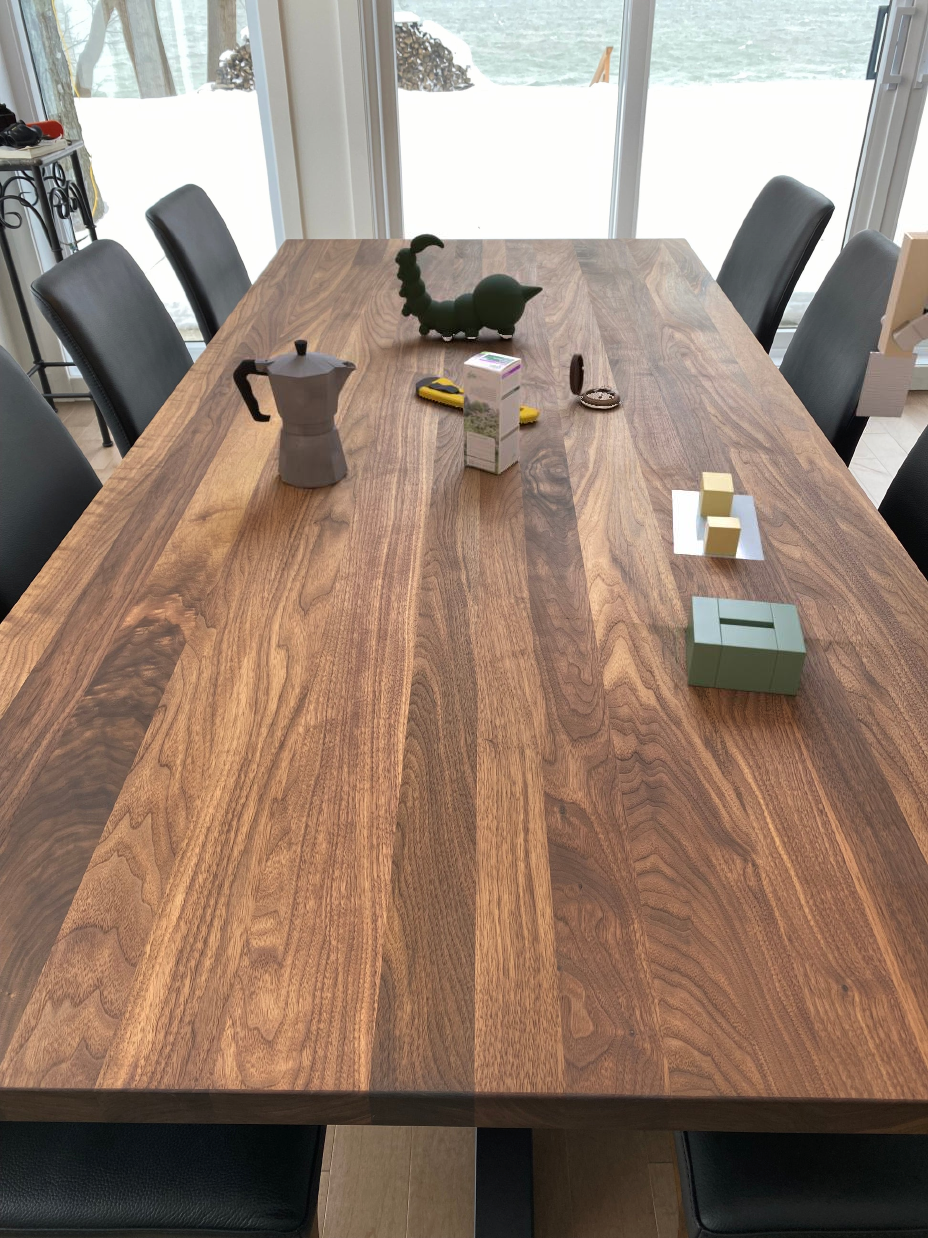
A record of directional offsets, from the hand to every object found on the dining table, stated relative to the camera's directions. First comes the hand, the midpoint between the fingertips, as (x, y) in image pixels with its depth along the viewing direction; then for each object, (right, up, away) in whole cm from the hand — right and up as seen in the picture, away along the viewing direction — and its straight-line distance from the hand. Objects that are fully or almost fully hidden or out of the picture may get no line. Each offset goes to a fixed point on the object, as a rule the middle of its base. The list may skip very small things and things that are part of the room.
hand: (891, 336), depth 86 cm
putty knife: (+1, -6, +4) cm, 7 cm away
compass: (-17, +9, +65) cm, 68 cm away
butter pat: (-9, -17, +25) cm, 32 cm away
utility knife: (-36, +8, +63) cm, 73 cm away
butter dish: (-8, -14, +31) cm, 35 cm away
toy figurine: (-37, +25, +89) cm, 100 cm away
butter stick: (-7, -11, +34) cm, 36 cm away
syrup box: (-34, -4, +46) cm, 58 cm away
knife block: (-11, -30, +9) cm, 33 cm away
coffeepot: (-59, -6, +44) cm, 74 cm away
